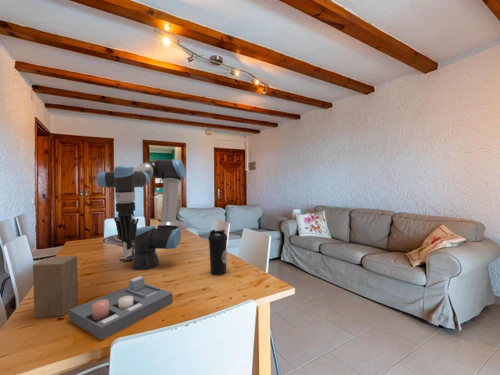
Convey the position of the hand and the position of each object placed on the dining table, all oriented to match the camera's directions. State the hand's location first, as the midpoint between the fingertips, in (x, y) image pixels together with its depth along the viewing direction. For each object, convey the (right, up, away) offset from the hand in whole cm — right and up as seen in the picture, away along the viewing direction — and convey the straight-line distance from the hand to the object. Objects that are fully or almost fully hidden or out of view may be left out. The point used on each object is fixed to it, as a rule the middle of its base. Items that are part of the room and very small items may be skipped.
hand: (127, 256), depth 108 cm
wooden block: (-22, -18, -11) cm, 31 cm away
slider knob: (+5, -13, -2) cm, 14 cm away
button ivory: (+7, -17, -15) cm, 23 cm away
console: (+5, -18, -12) cm, 22 cm away
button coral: (+2, -15, -22) cm, 27 cm away
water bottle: (+36, -17, +27) cm, 48 cm away
